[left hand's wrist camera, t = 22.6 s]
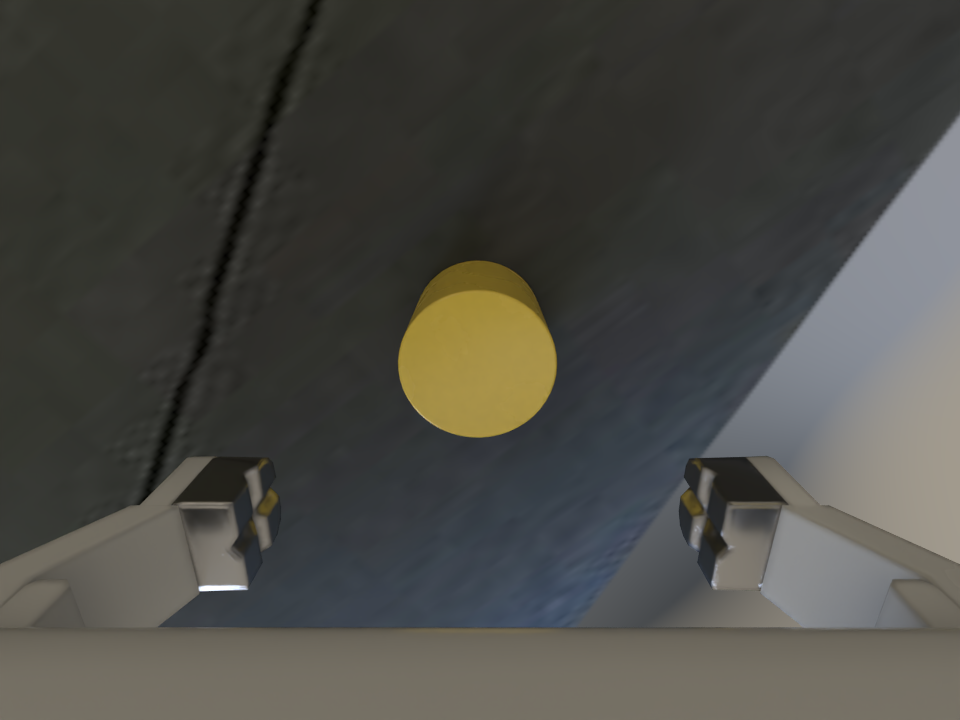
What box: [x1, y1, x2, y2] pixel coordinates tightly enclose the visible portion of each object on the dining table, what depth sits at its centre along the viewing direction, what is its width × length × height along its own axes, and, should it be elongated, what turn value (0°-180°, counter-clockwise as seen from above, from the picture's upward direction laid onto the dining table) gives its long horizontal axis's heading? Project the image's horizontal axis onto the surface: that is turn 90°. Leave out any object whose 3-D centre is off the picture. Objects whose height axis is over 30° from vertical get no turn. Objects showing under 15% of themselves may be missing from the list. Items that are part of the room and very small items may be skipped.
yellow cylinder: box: [398, 261, 557, 437], centre depth 18 cm, size 5×5×5 cm
